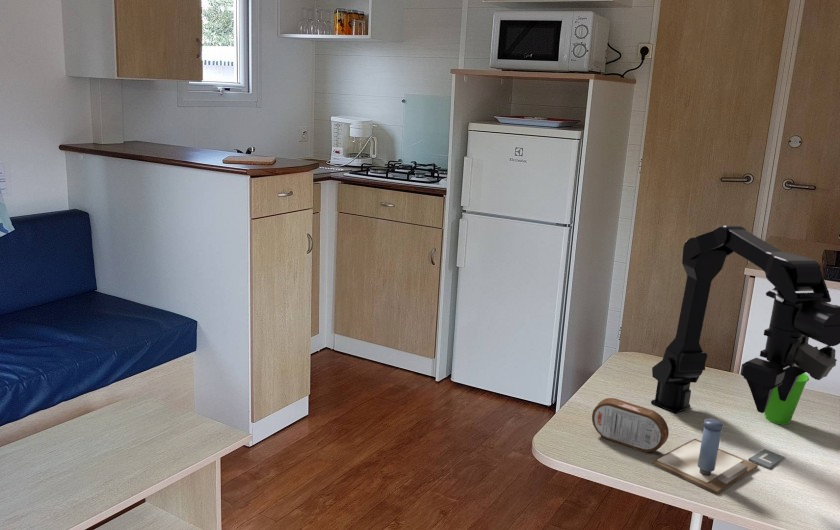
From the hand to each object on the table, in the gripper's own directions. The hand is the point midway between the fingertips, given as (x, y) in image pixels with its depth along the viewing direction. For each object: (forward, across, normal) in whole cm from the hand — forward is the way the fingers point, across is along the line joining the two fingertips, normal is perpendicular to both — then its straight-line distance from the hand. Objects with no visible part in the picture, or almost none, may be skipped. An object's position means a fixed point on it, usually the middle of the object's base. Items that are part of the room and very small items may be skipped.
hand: (771, 406), depth 134 cm
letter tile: (+13, +5, +1) cm, 14 cm away
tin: (+13, -13, +21) cm, 28 cm away
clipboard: (+13, -8, +7) cm, 17 cm away
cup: (+13, +26, +8) cm, 30 cm away
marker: (+12, -12, +5) cm, 18 cm away
